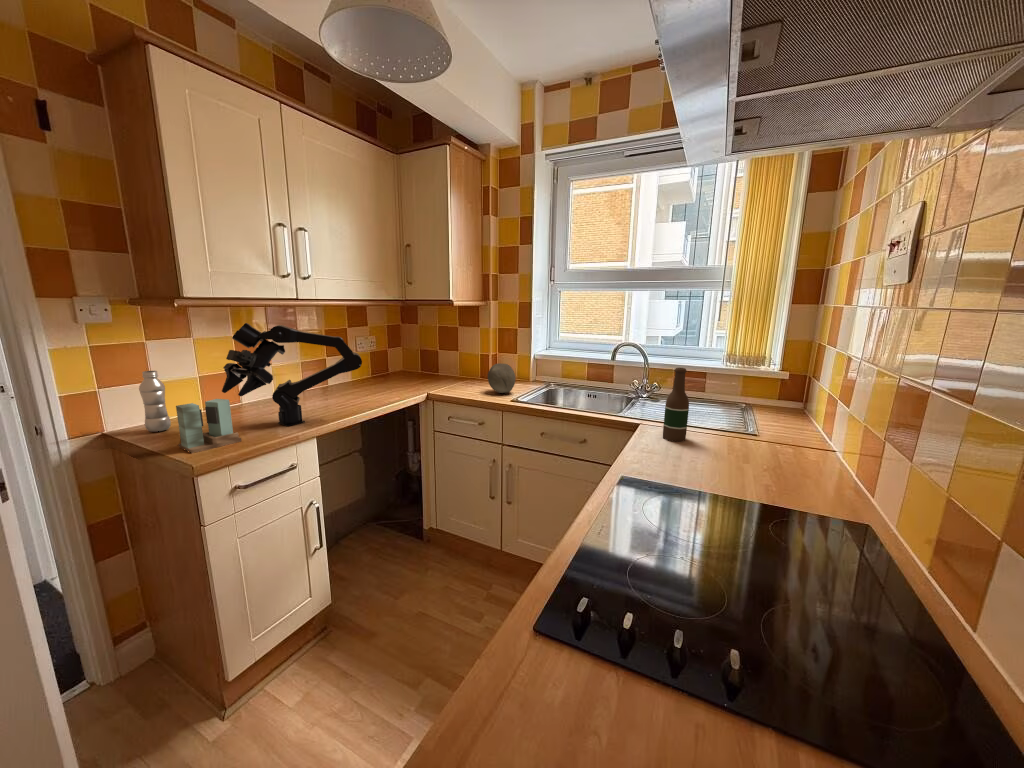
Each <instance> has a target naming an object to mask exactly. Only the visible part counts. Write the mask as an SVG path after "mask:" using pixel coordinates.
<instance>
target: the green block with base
mask: <svg viewBox="0 0 1024 768" xmlns="http://www.w3.org/2000/svg"><path fill="white" fill-rule="evenodd" d="M175 410H176V416H177V423H178V431H179V437H180V443H178V445H177V446H178V448H179V449H182V450H184V449H185V450H184V451H186V450H187V451H186V452H188V451H189V452H188V453H190V452H191V453H190V454H195V453H194V452H196V453H198V452H199V451H200V452H204V451H207V450H208V451H209V450H212V449H215V448H220V447H223V446H224V447H225V446H227V445H232V444H236V443H239V442H242V437H240V436H239V432H238V431H237V432H233V433H232V434H227V435H223V436H218V437H213V436H210V435H209V431H206V432H203V427H204V419H203V412H202V409H200V405H199V404H196V403H194V402H191V403H185V404H184V403H183V404H179V405H176V406H175ZM200 452H199V453H200Z"/></svg>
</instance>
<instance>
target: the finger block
mask: <svg viewBox="0 0 1024 768" xmlns="http://www.w3.org/2000/svg"><path fill="white" fill-rule="evenodd" d="M204 405H205V407H204V410H205V417H206V424H207V426H208V432H209V435H210V436H213V437H218V436H223V435H227V434H232V433H234V430H233V429H234V428H233V421H232V420H233V419H232V412H231V403H230V399H225V398H224V399H223V398H214V399H211V400H206V401H205V402H204Z"/></svg>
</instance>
